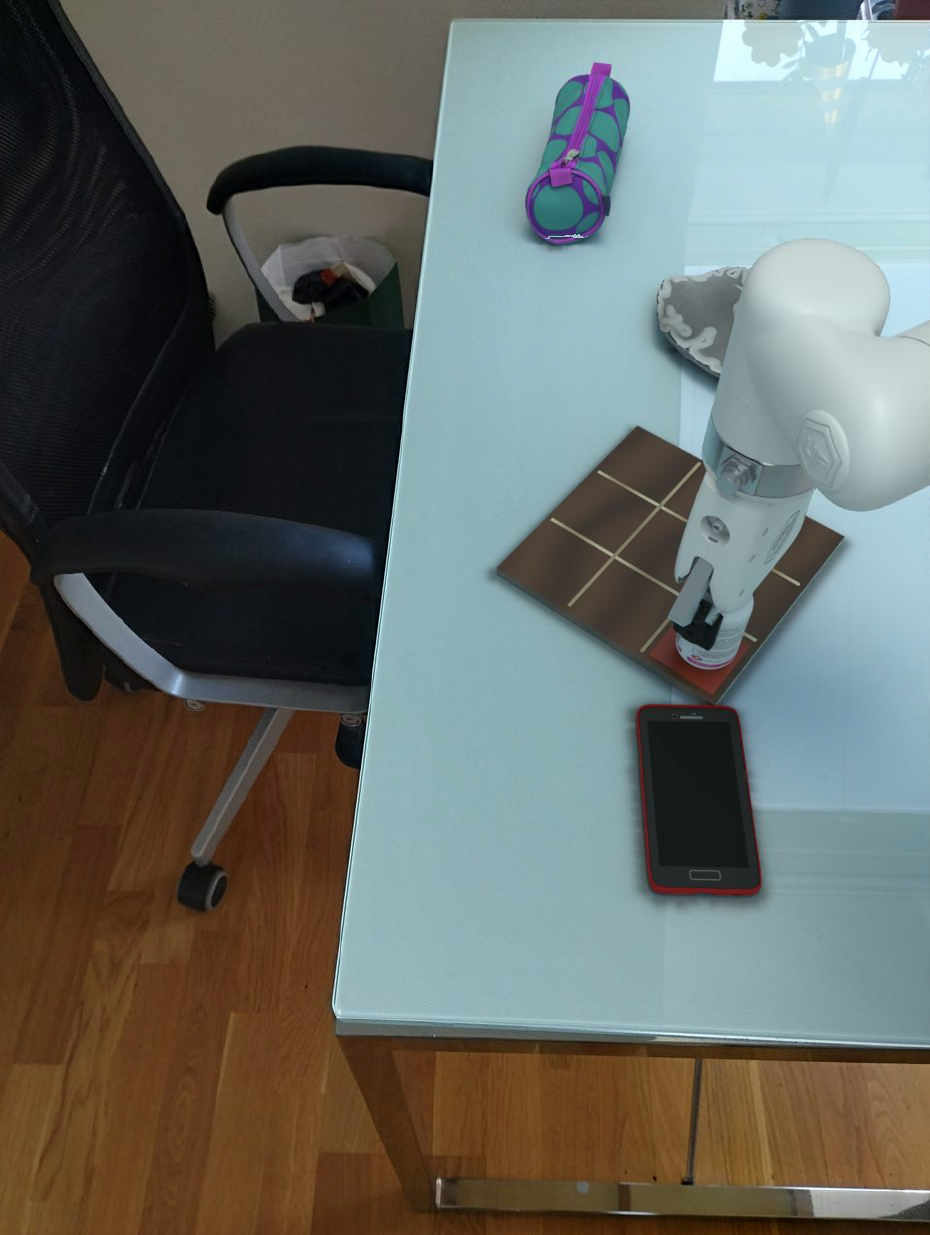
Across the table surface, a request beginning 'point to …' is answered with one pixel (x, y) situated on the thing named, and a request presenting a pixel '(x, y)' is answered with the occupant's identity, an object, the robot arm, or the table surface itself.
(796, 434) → the robot arm
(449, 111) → the table surface
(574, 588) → the grid board
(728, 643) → the pill bottle
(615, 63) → the table surface
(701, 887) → the cell phone
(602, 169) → the pencil case
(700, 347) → the brain slice
